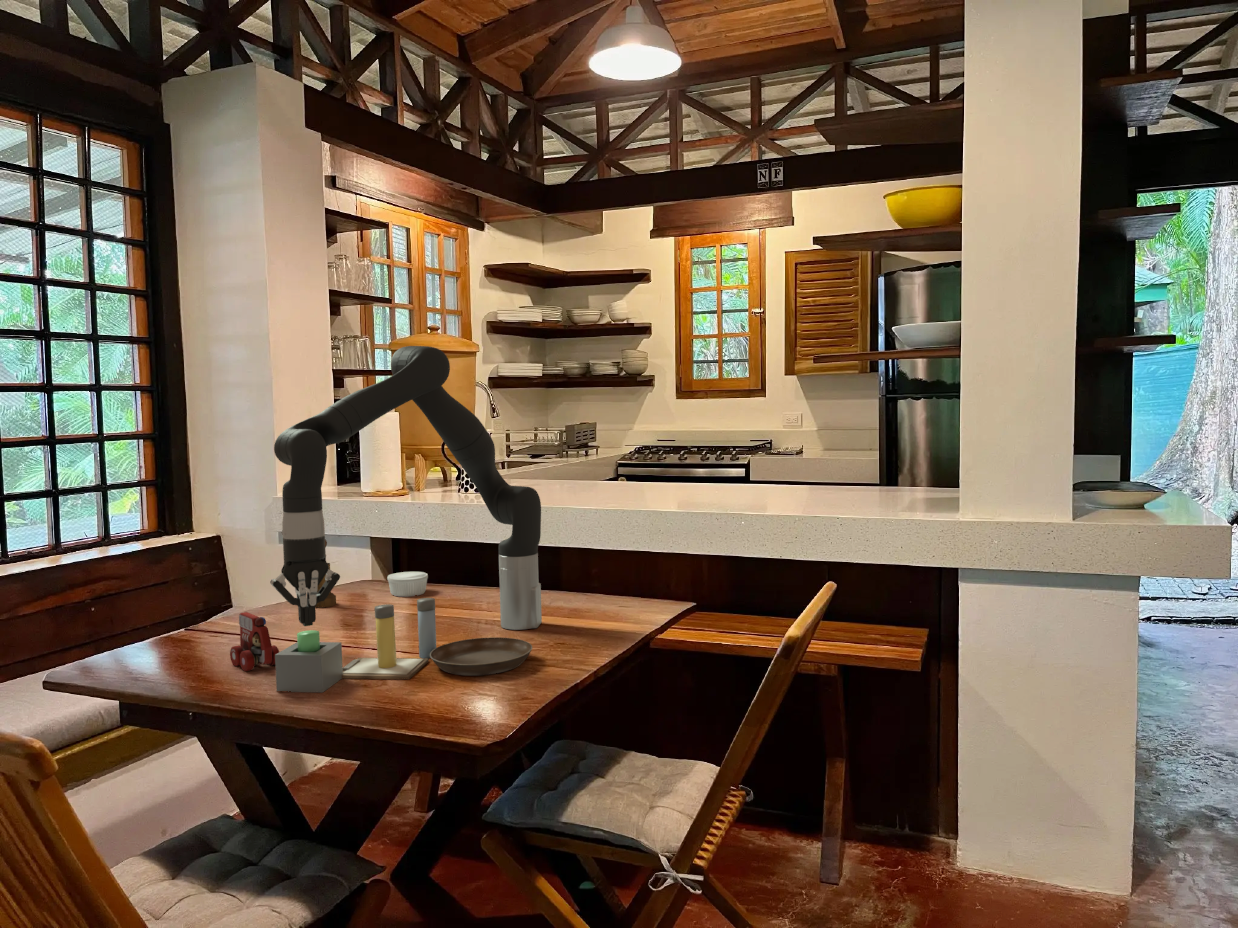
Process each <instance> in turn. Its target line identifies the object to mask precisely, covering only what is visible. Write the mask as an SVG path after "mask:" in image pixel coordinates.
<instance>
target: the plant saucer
mask: <svg viewBox="0 0 1238 928" xmlns="http://www.w3.org/2000/svg"><path fill="white" fill-rule="evenodd" d="M532 649H533V645H532V644H531V642H528V641H526V640H523V639H518V638H513V637H512V638H511V637H500V636H499V637H493V636H492V637H476V638H475V637H474V638H469V639H462V640H457V641H456V640H455V641H452V642H448V643H445V644H443V645H442V644H441V645H440V646H438V647H437V646H436V648H435V649H434V650H432V651H431V653H430V657H431V658H430V659H431V660H432V662H433V663H434V664H435V666H437V667H438V668H439V669H440V670H442V671H443V672H445V673H448V674H452V675H456V676H465V677H466V676H469V677H470V676H471V677H473V676H474V677H476V676H477V677H478V676H479V677H480V676H488V675H496V673H497V674H500V673H505V672H509V671H511V670H513V669H516V668H517V667H519V666H520V665H522V664H523V663H524V662H525V660H527V659H528V657H529V656H530V654H531V652H532Z"/></svg>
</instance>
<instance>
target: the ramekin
mask: <svg viewBox="0 0 1238 928" xmlns="http://www.w3.org/2000/svg"><path fill="white" fill-rule="evenodd" d="M386 579H387V581H388V585H389V592H390V594H391V595H392V596H393V595H394V597H402V598H405V597H406V598H407V597H408V598H409V597H416V596H415V595H417V596H420V595H421V596H422V595H423V594H425V592H426V589H427V585H428V584H427V583H428V579H429V575H428V573H426V572H424V571H403V572H402V571H401V572H396V573H390V574H388V575H387V578H386Z"/></svg>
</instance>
